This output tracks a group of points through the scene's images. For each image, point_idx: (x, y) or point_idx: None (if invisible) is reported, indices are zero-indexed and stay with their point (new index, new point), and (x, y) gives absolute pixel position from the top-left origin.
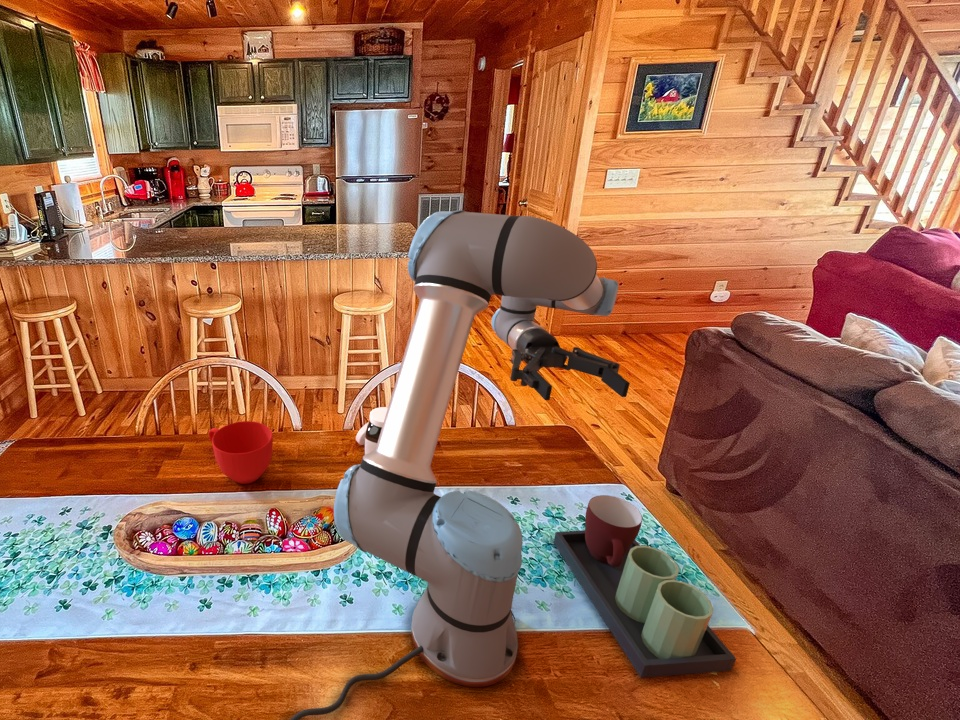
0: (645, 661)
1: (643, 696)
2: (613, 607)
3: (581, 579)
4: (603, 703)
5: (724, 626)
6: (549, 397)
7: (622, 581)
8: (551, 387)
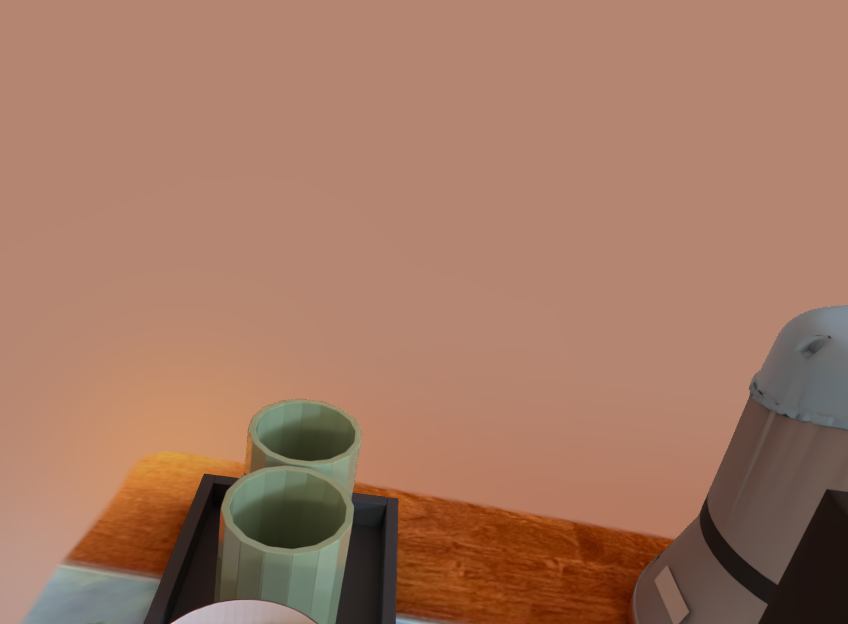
0: (392, 502)
1: (409, 507)
2: None
3: None
4: (487, 512)
5: (94, 570)
6: (776, 600)
7: (337, 598)
8: (825, 502)
